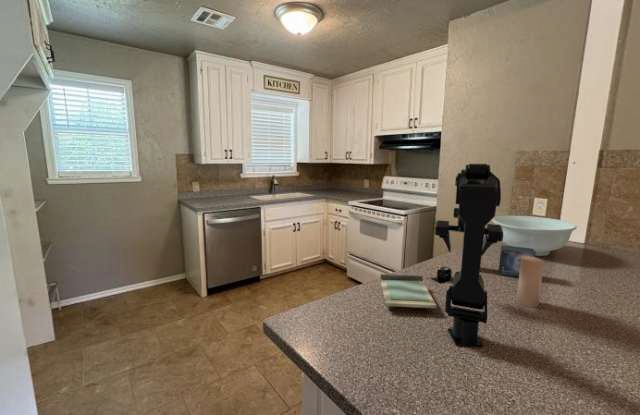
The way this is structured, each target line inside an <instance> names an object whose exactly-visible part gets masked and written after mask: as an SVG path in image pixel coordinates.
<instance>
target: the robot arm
mask: <svg viewBox="0 0 640 415" xmlns="http://www.w3.org/2000/svg"><path fill="white" fill-rule="evenodd" d="M454 185H455V186H454V187H456V190H455V205H458V207H453V218H454V219H457V225H452V224H450V220H439V219H438V220H436V222H435V227H434V235H435V236H438V237H439V238H440V239H442V241H444V243H445V246H446V248H447V250H448V252H449V253H451V251H452V250H451V249H452V247H451V246H452V245H451V232H452V233H453V232H454V233H463V238H462V251H461V262H460V271H456V272H455V273H454V275H453V281H452V285H449V288H448V289H447V290H446V292H445V307H444V313H446V314H447V317H452V318H453V319H452V328H450V327H449V328H447V330H446V331H447V332H448V335H449V336H450V338H451V340H452V342H453V343H454V345H455V346H464V347H480V348H481V347H484V343H483V342H482V340H481V338H480V337H479V327H480V323H483V324H487V322H488V292H487V291H486V290H485V283H484V282H485V281H484V280H483V277H482V275H481V274H480V272H481V264H482V258H483V257H482V256H484V254H485V253H486V252H487V250H488V249H489V248H490V247H491V246H492V245H493V244H497V243H498V242H502V241H503V230H502V227H501V226H500V225H495V223H494V224H491V223H490V222H491V221H492V219H493V218H495V217H496V211H497V207H500V205H501V200H502V190H501V180H500V179H499V177H497V176H496V174H494V173H493V172H492V171H491V165H490V164H487V163H468V164H465V168H462V169H461V170H460V172H459V173H458V174H456V176H455V183H454ZM452 305H453V306H452ZM463 307H464V308H463ZM481 310H482V311H481Z"/></svg>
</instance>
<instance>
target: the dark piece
mask: <svg viewBox="0 0 640 415" xmlns="http://www.w3.org/2000/svg"><path fill="white" fill-rule="evenodd" d="M452 272H453V271H452V268H450V267H447V266H442V267H438V268H437V272H436V276H434V277H429V280H432V281H434V282H437V284H440V285H442V284H446V283H449V282H453V277H454V275H452Z"/></svg>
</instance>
